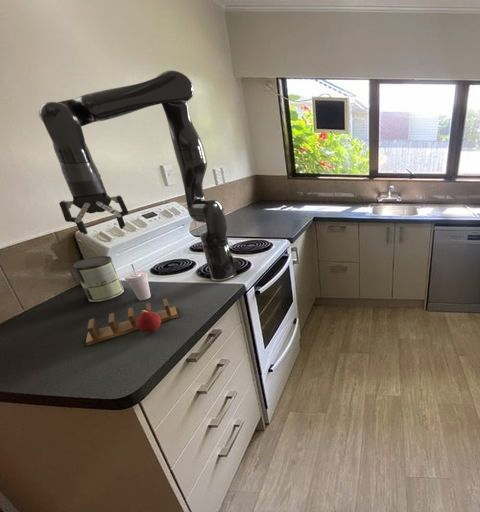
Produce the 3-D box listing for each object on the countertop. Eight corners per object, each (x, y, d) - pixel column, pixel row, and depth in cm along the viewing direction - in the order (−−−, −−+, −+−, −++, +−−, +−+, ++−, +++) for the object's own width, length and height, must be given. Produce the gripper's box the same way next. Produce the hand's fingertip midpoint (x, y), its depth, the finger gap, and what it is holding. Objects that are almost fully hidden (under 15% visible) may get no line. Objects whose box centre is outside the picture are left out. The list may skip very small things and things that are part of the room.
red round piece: (162, 323, 92) (154, 302, 89) (166, 331, 88) (157, 310, 85) (139, 332, 88) (130, 310, 85) (142, 340, 85) (132, 318, 81)
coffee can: (80, 302, 105) (63, 267, 99) (106, 288, 114) (92, 255, 109) (107, 302, 104) (91, 267, 99) (131, 288, 114) (118, 255, 108)
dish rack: (175, 309, 100) (171, 296, 98) (178, 317, 96) (173, 303, 94) (89, 335, 87) (82, 321, 85) (87, 345, 83) (80, 330, 81)
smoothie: (136, 304, 103) (122, 269, 98) (131, 298, 107) (117, 264, 101) (157, 296, 108) (145, 262, 102) (152, 291, 111) (139, 258, 106)
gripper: (45, 182, 78) (71, 238, 84) (115, 177, 86) (133, 229, 93) (50, 179, 83) (74, 232, 89) (115, 175, 92) (133, 224, 98)
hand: (104, 230), depth 91 cm, fingers open, 8 cm apart
